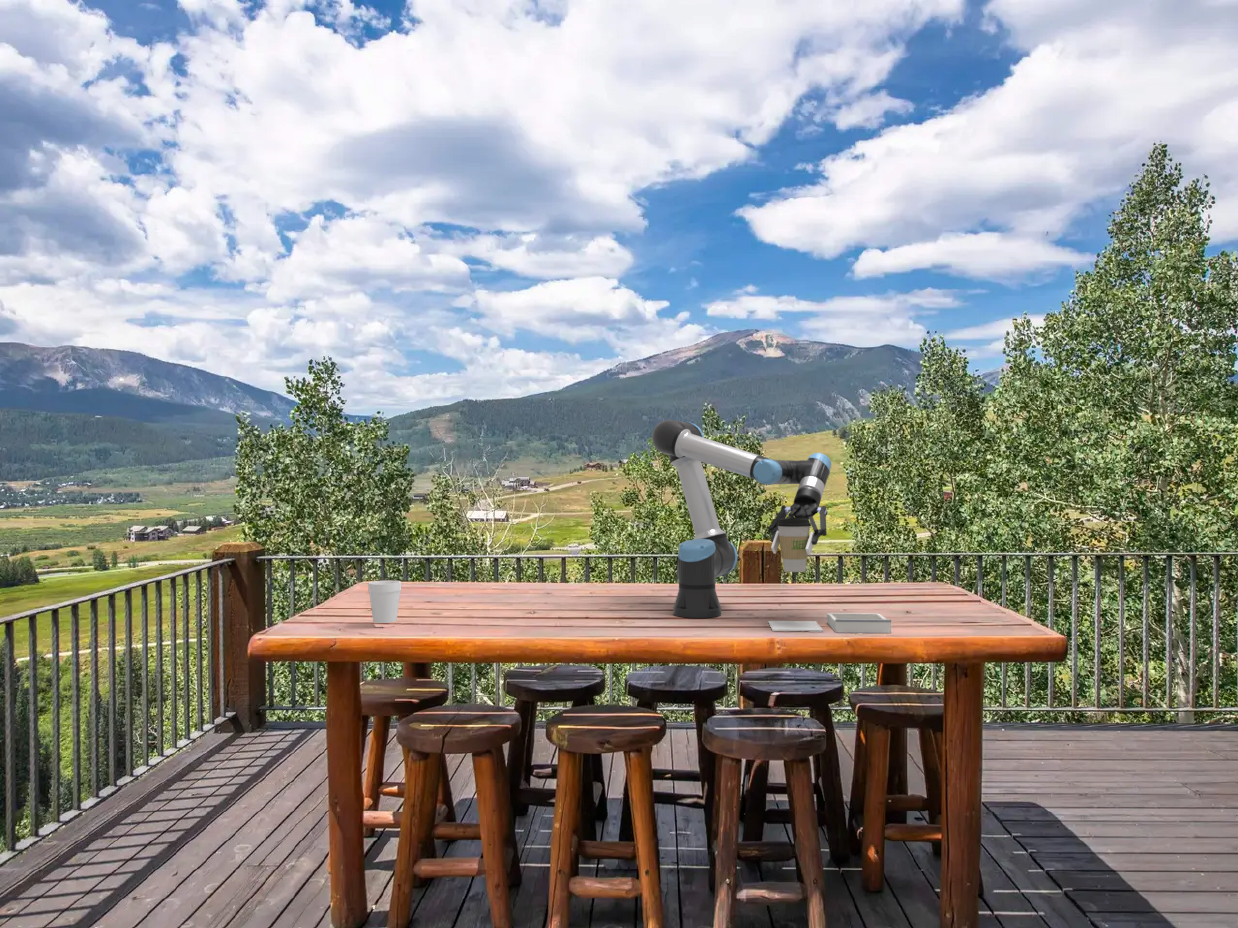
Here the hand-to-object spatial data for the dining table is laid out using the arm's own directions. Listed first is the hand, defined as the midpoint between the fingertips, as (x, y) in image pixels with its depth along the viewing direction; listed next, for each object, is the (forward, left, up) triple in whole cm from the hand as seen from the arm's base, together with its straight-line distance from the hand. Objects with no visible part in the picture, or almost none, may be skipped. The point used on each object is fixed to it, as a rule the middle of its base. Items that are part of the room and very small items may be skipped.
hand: (790, 551), depth 233 cm
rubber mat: (+1, +3, -22) cm, 23 cm away
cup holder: (+19, +3, -22) cm, 30 cm away
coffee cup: (+1, +3, -6) cm, 7 cm away
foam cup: (-120, -1, -23) cm, 122 cm away
